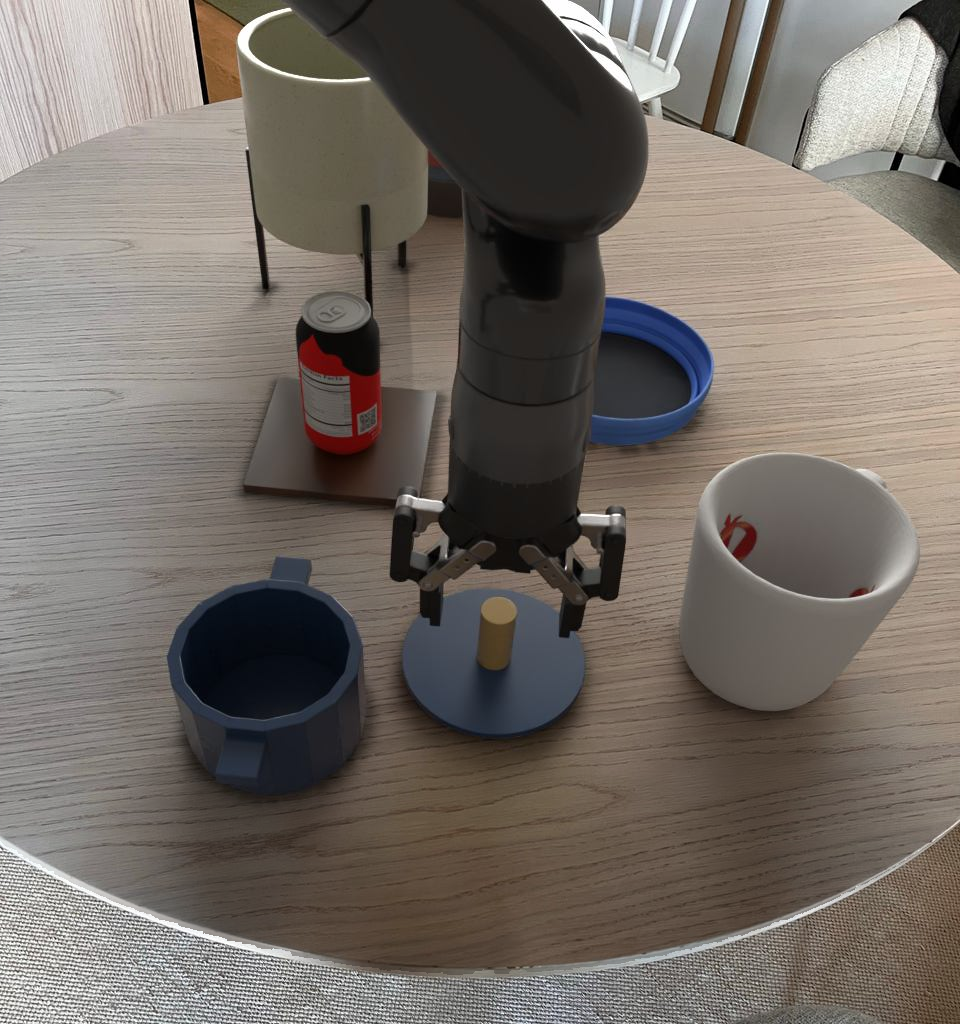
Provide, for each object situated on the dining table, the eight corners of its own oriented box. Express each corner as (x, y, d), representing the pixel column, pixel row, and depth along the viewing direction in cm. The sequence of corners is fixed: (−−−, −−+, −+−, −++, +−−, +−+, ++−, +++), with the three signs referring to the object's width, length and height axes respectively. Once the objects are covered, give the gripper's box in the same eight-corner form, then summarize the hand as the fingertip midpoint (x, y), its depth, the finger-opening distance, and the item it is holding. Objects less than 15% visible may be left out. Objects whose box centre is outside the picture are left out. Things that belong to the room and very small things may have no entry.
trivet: (244, 492, 81) (242, 484, 80) (279, 383, 90) (278, 375, 89) (418, 509, 81) (418, 501, 80) (437, 398, 90) (437, 391, 89)
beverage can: (397, 437, 85) (396, 312, 75) (340, 472, 82) (332, 346, 72) (346, 402, 87) (339, 276, 78) (290, 434, 84) (275, 307, 75)
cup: (755, 528, 82) (808, 389, 71) (910, 619, 77) (992, 484, 66) (619, 660, 72) (656, 523, 62) (785, 773, 67) (857, 646, 57)
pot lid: (390, 734, 68) (388, 679, 63) (413, 590, 76) (413, 531, 71) (581, 753, 67) (595, 699, 63) (584, 607, 75) (596, 549, 71)
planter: (462, 295, 100) (474, 41, 82) (349, 367, 92) (335, 103, 74) (349, 236, 105) (337, -14, 87) (233, 299, 97) (194, 38, 79)
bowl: (725, 358, 96) (735, 326, 93) (676, 477, 85) (685, 444, 82) (546, 308, 99) (550, 275, 96) (476, 416, 88) (479, 382, 86)
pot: (156, 823, 63) (130, 759, 57) (221, 613, 73) (205, 541, 67) (343, 841, 62) (337, 779, 57) (381, 628, 73) (379, 558, 67)
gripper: (648, 400, 57) (606, 590, 70) (397, 377, 57) (400, 571, 70) (652, 491, 53) (606, 677, 65) (378, 467, 53) (385, 656, 65)
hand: (499, 622), depth 68 cm, fingers open, 8 cm apart
